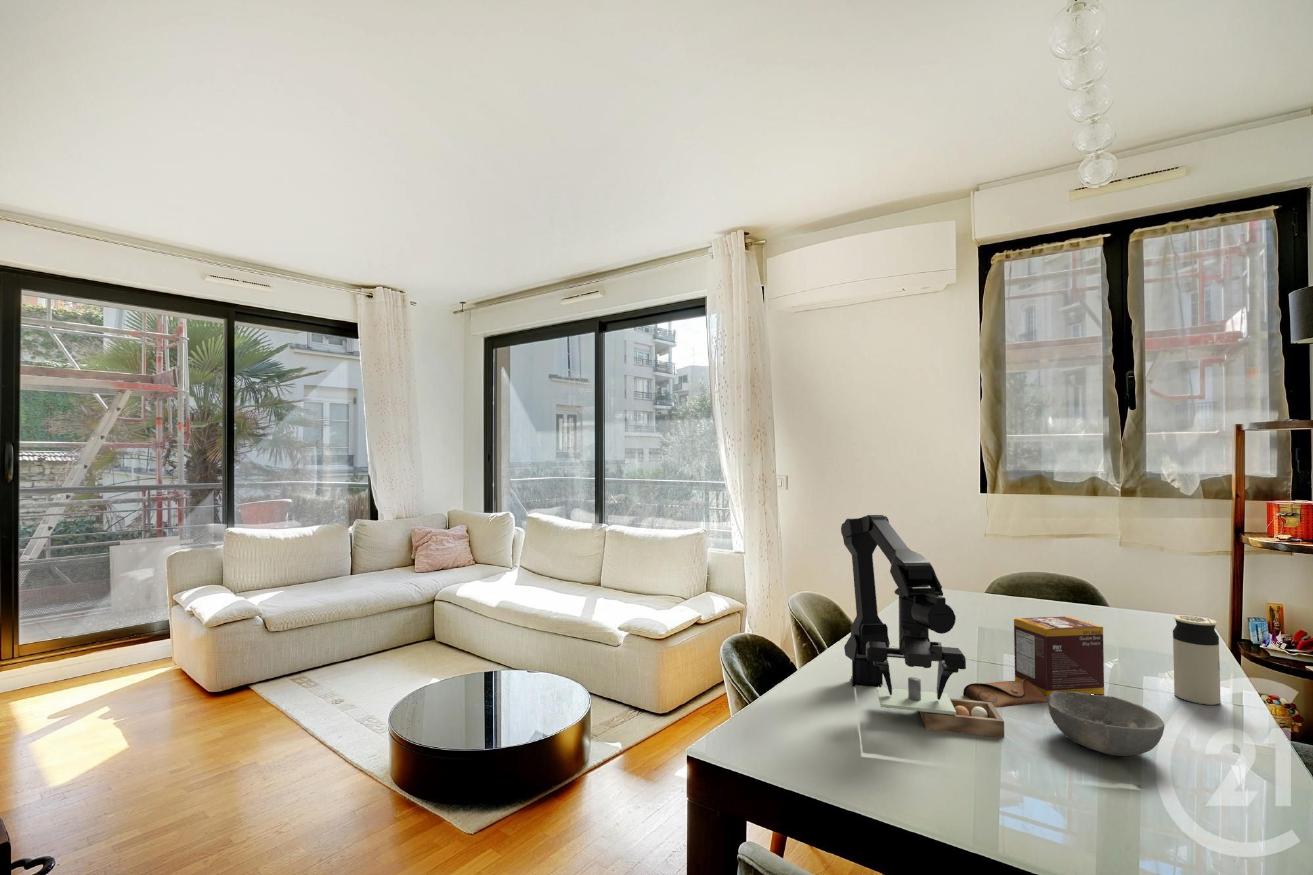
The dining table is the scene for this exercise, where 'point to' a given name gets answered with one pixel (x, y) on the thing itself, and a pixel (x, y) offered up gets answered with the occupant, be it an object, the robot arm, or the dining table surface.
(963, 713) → the ball
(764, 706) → the dining table surface
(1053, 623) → the supplement box
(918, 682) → the lid
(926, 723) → the box
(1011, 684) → the sunglasses case
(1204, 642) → the travel mug
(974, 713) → the ball
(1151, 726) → the bowl
